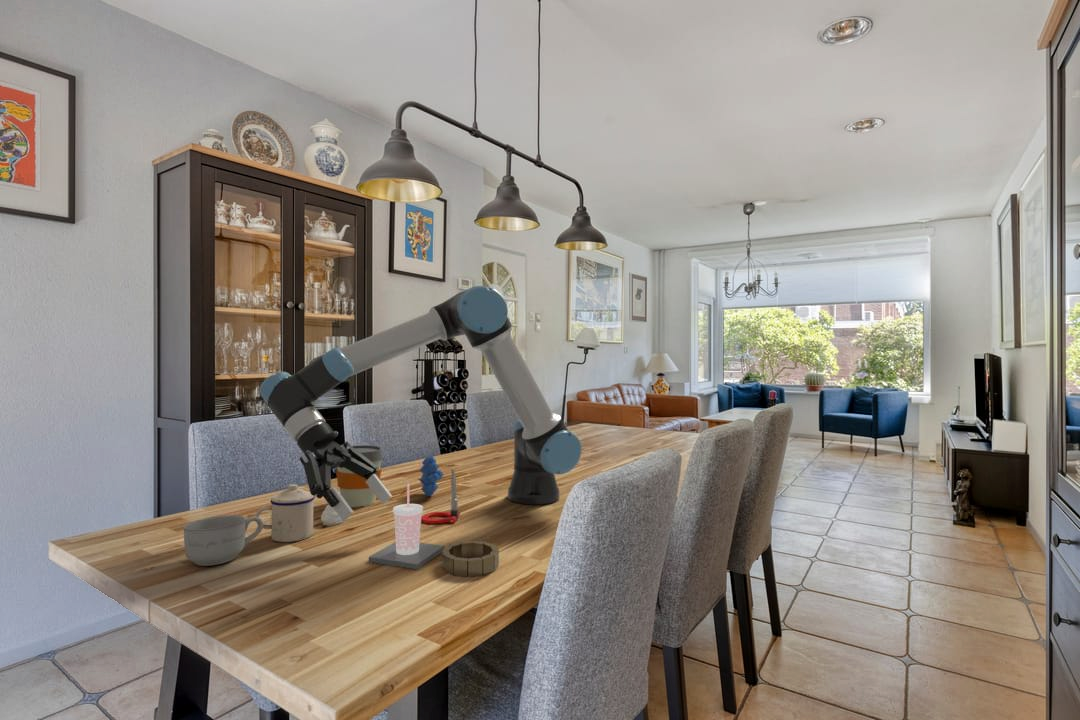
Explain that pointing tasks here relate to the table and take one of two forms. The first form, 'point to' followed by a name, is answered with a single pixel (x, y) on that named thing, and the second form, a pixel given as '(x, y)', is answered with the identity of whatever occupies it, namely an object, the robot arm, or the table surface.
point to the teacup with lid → (290, 515)
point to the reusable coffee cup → (359, 479)
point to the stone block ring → (479, 565)
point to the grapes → (430, 475)
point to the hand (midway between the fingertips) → (369, 508)
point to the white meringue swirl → (330, 516)
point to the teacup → (217, 538)
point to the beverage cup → (407, 526)
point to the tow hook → (451, 515)
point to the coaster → (406, 556)
